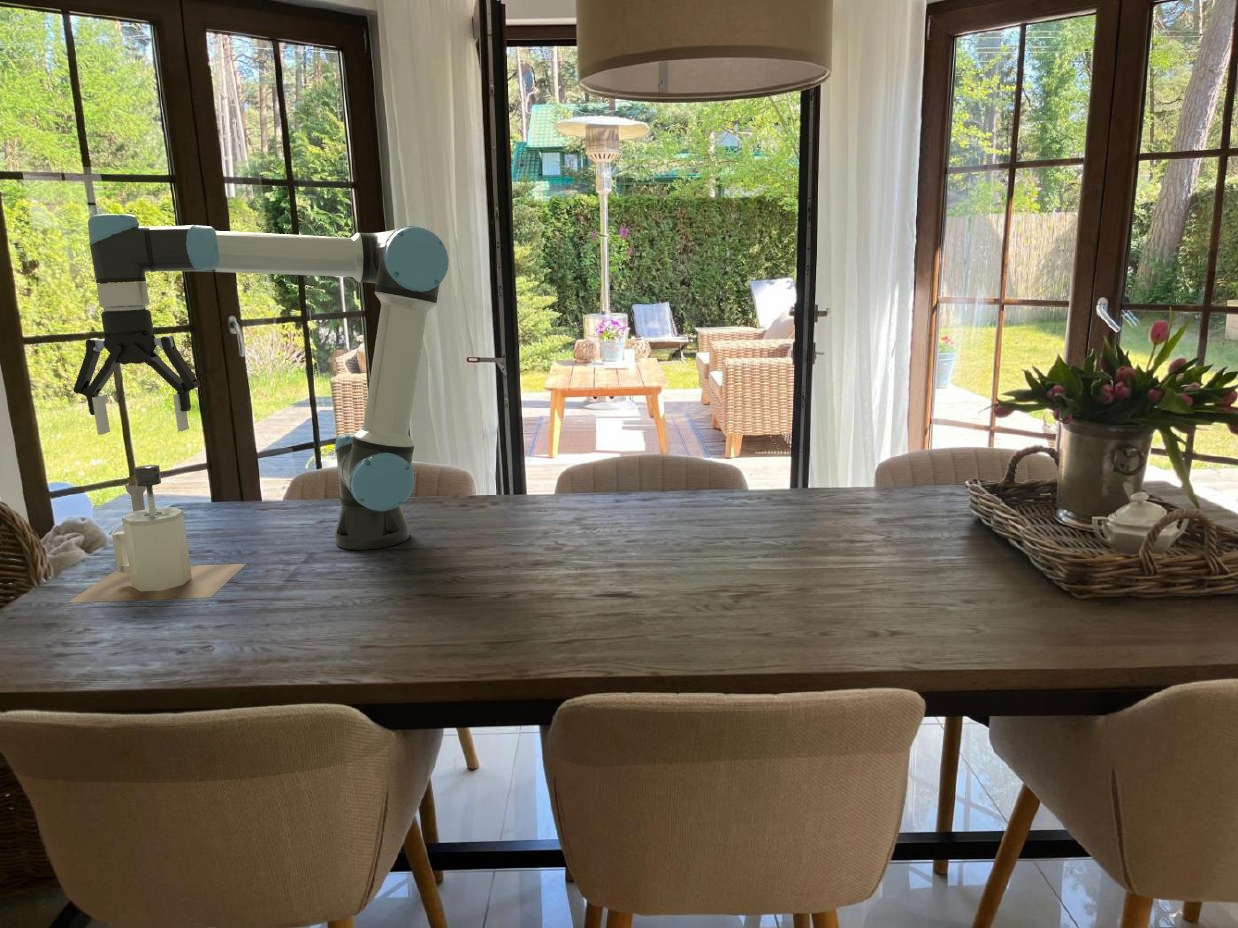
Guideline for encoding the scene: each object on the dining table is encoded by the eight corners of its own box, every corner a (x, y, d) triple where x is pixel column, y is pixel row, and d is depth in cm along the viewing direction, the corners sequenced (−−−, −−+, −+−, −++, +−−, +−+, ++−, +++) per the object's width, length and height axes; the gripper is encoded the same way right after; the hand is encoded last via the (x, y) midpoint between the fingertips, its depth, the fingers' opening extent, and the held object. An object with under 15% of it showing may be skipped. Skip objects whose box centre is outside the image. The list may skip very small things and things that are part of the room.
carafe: (197, 572, 169) (189, 506, 166) (177, 589, 160) (167, 520, 158) (133, 575, 169) (124, 508, 166) (109, 592, 160) (99, 522, 157)
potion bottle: (150, 568, 177) (138, 479, 173) (111, 566, 179) (97, 477, 175) (180, 554, 185) (169, 468, 181) (142, 553, 187) (130, 467, 183)
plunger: (177, 570, 166) (163, 464, 162) (167, 578, 162) (153, 469, 158) (154, 571, 166) (140, 465, 162) (144, 579, 162) (129, 470, 158)
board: (247, 571, 174) (246, 563, 174) (211, 605, 157) (210, 597, 156) (119, 575, 173) (118, 568, 173) (68, 610, 156) (67, 602, 155)
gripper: (208, 305, 158) (224, 424, 163) (62, 310, 157) (82, 430, 162) (191, 307, 151) (208, 432, 156) (37, 312, 150) (58, 438, 154)
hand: (143, 431), depth 159 cm, fingers open, 13 cm apart
